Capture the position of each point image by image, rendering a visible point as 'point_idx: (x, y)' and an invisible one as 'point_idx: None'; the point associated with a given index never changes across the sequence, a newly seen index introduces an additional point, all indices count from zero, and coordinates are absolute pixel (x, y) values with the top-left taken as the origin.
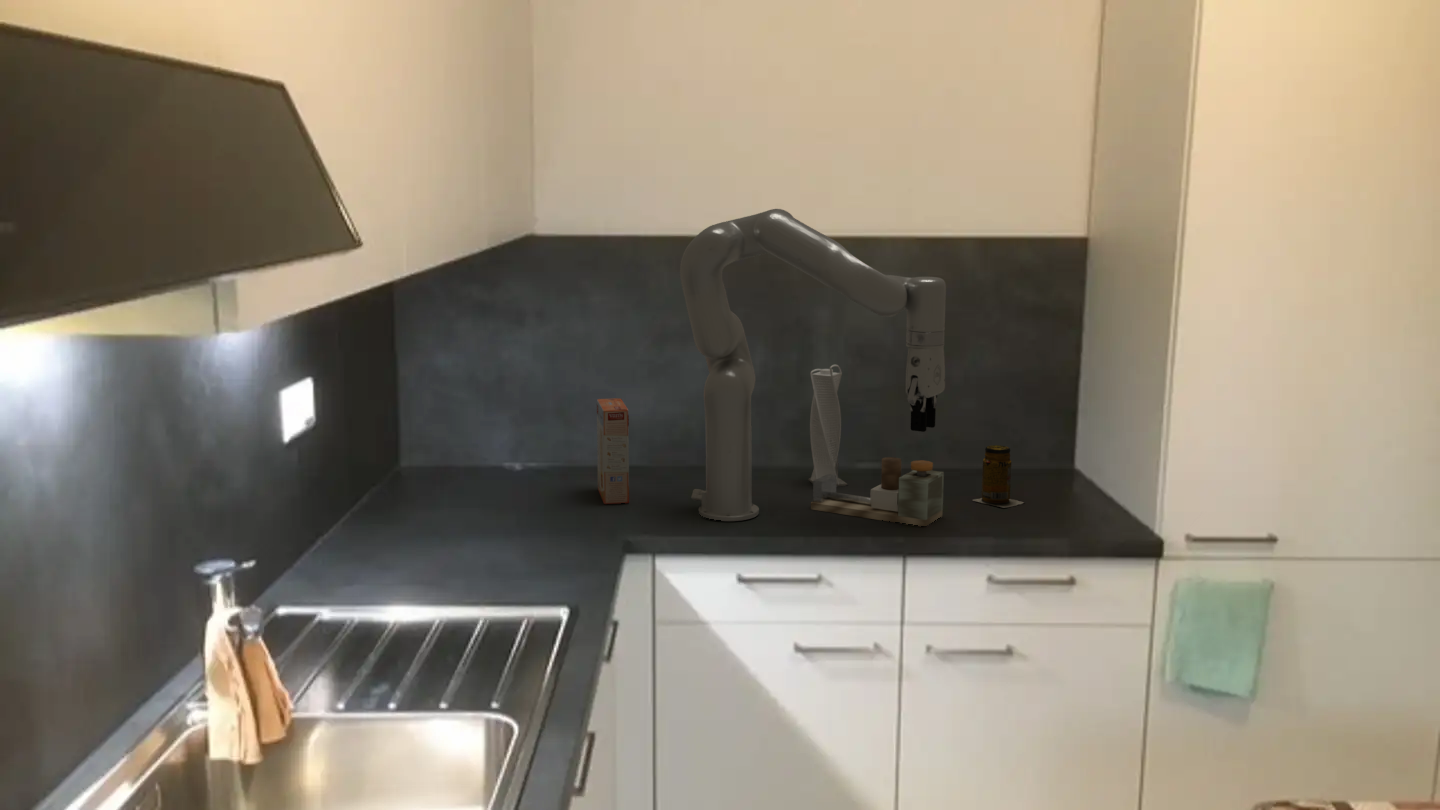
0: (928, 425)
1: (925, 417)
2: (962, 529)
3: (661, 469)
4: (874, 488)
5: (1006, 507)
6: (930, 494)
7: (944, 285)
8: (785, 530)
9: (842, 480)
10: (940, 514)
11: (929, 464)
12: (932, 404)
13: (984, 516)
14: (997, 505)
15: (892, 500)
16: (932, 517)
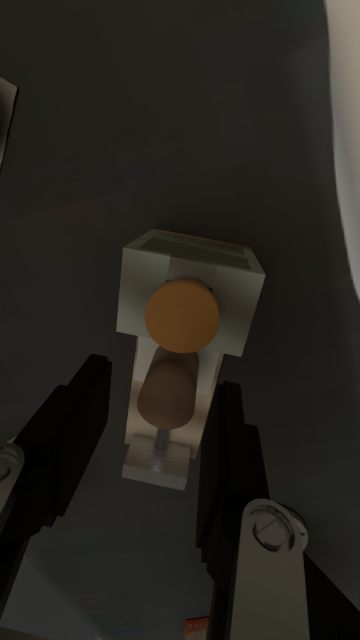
0: (108, 387)
1: (245, 450)
2: (242, 156)
3: (86, 602)
4: (197, 389)
5: (5, 80)
6: (228, 257)
7: None
8: (332, 460)
9: (16, 436)
10: (163, 231)
11: (196, 293)
12: (18, 489)
13: (107, 125)
14: (3, 111)
15: None
16: (211, 241)
